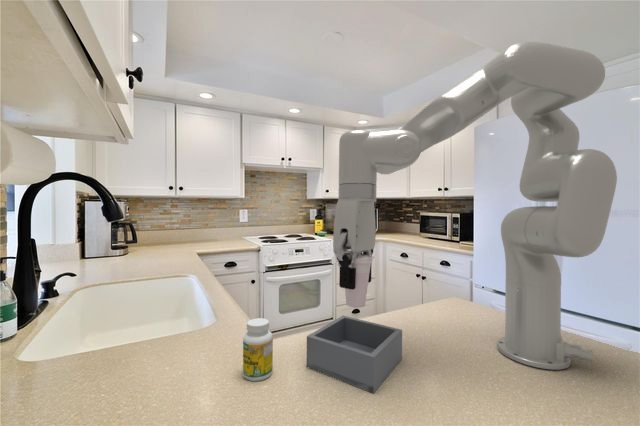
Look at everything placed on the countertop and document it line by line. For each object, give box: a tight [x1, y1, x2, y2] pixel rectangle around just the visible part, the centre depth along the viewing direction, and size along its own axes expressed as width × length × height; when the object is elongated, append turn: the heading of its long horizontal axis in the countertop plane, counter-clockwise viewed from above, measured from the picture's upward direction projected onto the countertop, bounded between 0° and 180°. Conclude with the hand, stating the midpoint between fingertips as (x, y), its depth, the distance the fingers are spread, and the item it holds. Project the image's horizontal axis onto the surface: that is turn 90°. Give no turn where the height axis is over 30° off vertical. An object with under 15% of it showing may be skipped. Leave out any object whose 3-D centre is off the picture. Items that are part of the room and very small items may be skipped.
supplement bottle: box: [242, 317, 274, 382], centre depth 53 cm, size 5×5×10 cm
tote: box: [305, 315, 403, 394], centre depth 57 cm, size 14×14×6 cm
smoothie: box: [344, 252, 373, 308], centre depth 57 cm, size 6×6×14 cm
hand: (355, 283), depth 57 cm, fingers closed on smoothie, 6 cm apart
